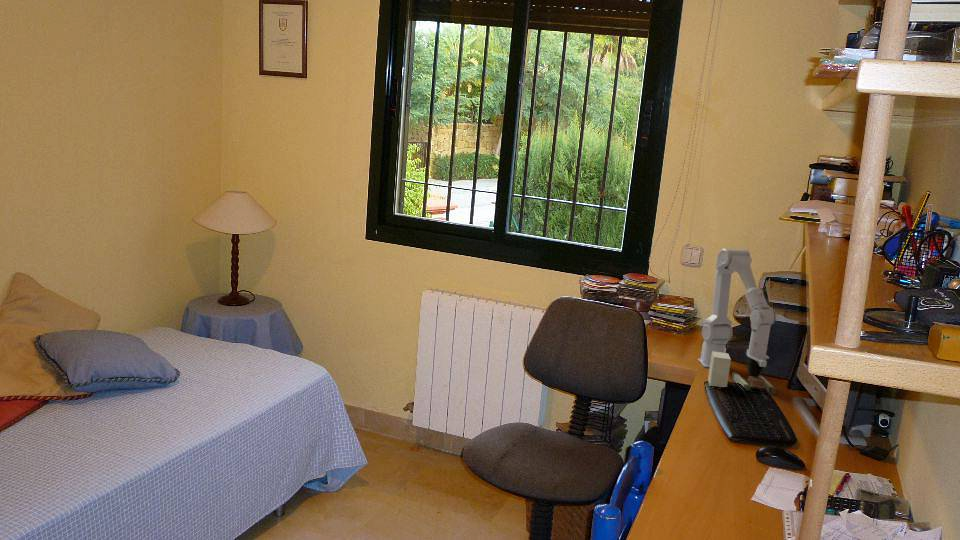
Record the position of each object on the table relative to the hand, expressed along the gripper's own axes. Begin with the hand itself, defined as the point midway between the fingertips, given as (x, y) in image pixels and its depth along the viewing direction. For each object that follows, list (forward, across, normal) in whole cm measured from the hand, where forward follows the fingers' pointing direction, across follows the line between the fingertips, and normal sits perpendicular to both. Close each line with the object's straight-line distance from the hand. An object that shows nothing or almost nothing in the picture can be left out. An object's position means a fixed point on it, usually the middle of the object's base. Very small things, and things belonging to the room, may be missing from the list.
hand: (752, 381), depth 273 cm
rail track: (+1, -1, 0) cm, 2 cm away
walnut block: (+1, -3, 0) cm, 3 cm away
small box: (+2, -4, +13) cm, 14 cm away
